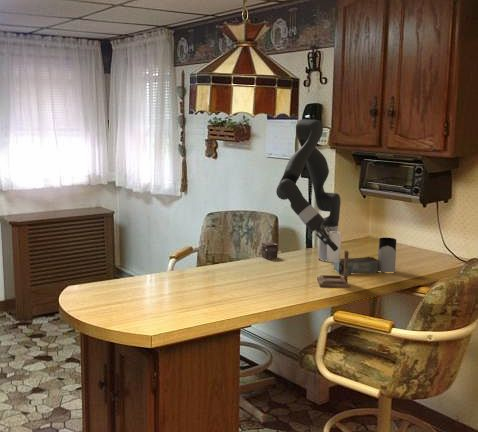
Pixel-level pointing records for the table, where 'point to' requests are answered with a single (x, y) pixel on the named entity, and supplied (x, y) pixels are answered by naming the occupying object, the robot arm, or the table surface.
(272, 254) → the box
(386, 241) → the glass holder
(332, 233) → the paper roll
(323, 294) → the table surface
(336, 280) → the walnut holder
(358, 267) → the beverage carton
